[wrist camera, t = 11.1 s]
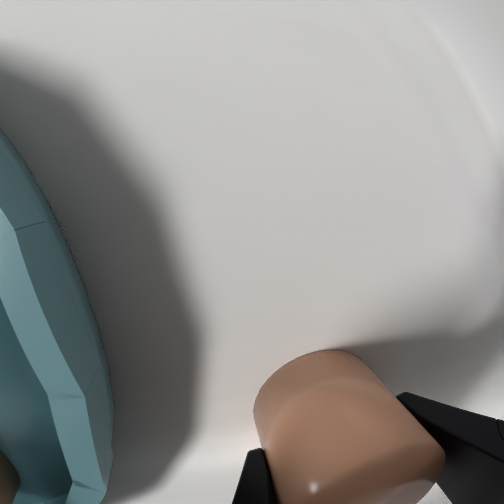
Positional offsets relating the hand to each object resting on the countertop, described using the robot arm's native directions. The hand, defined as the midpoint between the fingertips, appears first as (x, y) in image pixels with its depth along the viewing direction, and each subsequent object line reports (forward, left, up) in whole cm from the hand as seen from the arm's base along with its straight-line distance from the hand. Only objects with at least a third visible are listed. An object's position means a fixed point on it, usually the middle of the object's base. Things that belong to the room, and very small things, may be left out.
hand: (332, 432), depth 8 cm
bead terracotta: (0, 0, -2) cm, 2 cm away
